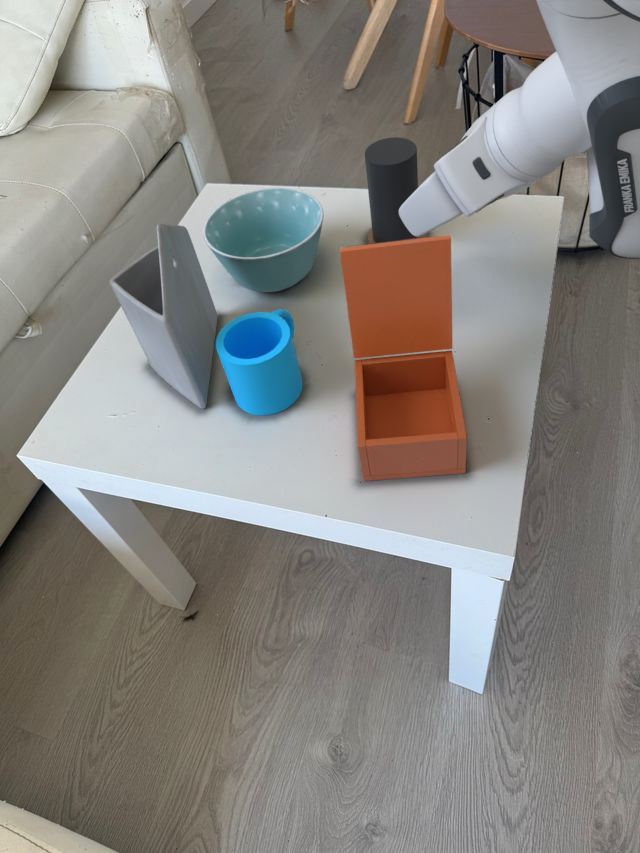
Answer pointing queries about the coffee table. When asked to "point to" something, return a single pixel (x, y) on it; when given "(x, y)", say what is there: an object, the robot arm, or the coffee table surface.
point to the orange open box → (409, 416)
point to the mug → (261, 361)
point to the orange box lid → (399, 296)
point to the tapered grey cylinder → (390, 185)
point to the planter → (171, 312)
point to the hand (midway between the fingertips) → (438, 201)
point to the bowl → (266, 237)
